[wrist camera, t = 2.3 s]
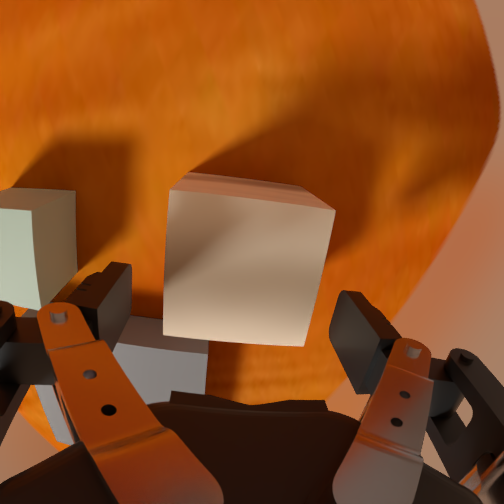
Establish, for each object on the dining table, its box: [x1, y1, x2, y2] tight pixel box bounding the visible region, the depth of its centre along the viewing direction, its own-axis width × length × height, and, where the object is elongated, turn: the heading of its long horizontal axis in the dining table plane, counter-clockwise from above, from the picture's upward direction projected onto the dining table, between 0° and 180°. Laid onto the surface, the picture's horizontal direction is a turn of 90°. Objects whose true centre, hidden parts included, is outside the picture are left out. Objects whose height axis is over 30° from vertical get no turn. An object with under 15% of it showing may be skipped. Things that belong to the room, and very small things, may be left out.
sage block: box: [0, 187, 78, 310], centre depth 14 cm, size 5×5×5 cm
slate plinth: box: [22, 302, 209, 445], centre depth 19 cm, size 12×12×3 cm
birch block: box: [163, 172, 336, 346], centre depth 15 cm, size 6×6×6 cm
